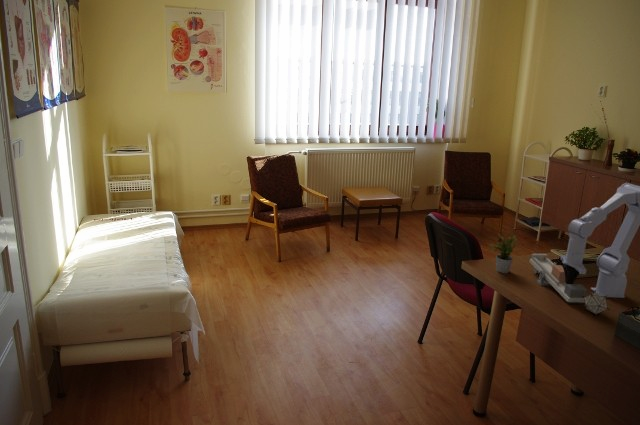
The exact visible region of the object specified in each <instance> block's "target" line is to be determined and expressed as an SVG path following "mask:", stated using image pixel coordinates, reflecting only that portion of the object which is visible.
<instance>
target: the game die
mask: <svg viewBox="0 0 640 425" xmlns="http://www.w3.org/2000/svg"><path fill="white" fill-rule="evenodd" d="M582 297H583V298H584V301H585V303H584V306H583V307H584V311H586V310H587V311H590V312H591V313H593V314H594V316H595V317H597V315H599V314H600V313H602V312H605V311H606V310H608V311H611V308H608V303H607V298H608V297H607V296H603V295H601V294H599V293H597V292H596V290H595V292H594V291H593V292H591V293H589V294H586V296H585V297H584V296H582Z"/></svg>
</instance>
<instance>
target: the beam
mask: <svg viewBox="0 0 640 425" xmlns="http://www.w3.org/2000/svg"><path fill="white" fill-rule="evenodd" d="M529 263H530V264H531V265H532V266H533V268H534V269H535V268H536V269H537V270H538V271H539V272H540V271H544V272H545V277H544V280H547V281H548V282H549V283H550V284H551V285H552V286H551V287H553V289H555V291H556V292H557V293H559V295H560V296H561V297H562V298H563V299H564V301H565V300H566V301H567V302H582V303H584V304H585V301H584V298H583V297H582V296H584V297H585V296H587V291H588V289H587V288H586V287H585V286H584V285H583V284H575V283H573V284H566V283H560V282H559V281H558V280H557V279H556V278H555V277H554V276H553V275H552V274H551V272H552V268H553V265H556V264H555V263H554V262H553V261H552V260H551V259H550V258H548V254H547V253H531V257H530V259H529ZM566 301H565V302H566ZM567 302H566V303H567Z"/></svg>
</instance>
